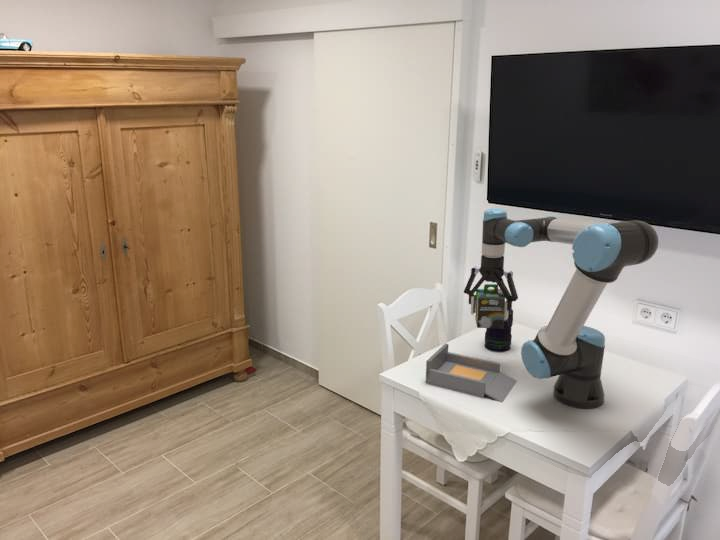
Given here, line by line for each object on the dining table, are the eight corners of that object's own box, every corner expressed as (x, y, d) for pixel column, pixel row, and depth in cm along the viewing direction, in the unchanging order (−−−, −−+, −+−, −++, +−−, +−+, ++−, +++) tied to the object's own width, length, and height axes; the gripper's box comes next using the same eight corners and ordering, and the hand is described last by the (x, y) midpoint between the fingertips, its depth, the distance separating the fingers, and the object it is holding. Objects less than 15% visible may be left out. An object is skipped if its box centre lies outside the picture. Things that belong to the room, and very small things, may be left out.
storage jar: (481, 349, 222) (484, 312, 218) (486, 340, 231) (489, 304, 227) (508, 354, 219) (511, 316, 214) (512, 344, 227) (515, 307, 223)
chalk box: (500, 319, 209) (503, 279, 205) (504, 329, 201) (506, 287, 197) (474, 318, 210) (476, 279, 206) (476, 328, 202) (478, 287, 198)
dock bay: (516, 382, 199) (518, 359, 196) (502, 403, 185) (504, 379, 183) (444, 365, 211) (445, 343, 209) (425, 384, 197) (426, 361, 195)
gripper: (530, 256, 196) (525, 318, 202) (463, 248, 207) (460, 307, 214) (524, 262, 190) (520, 325, 196) (455, 253, 201) (453, 313, 207)
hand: (489, 316), depth 205 cm, fingers closed on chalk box, 11 cm apart
